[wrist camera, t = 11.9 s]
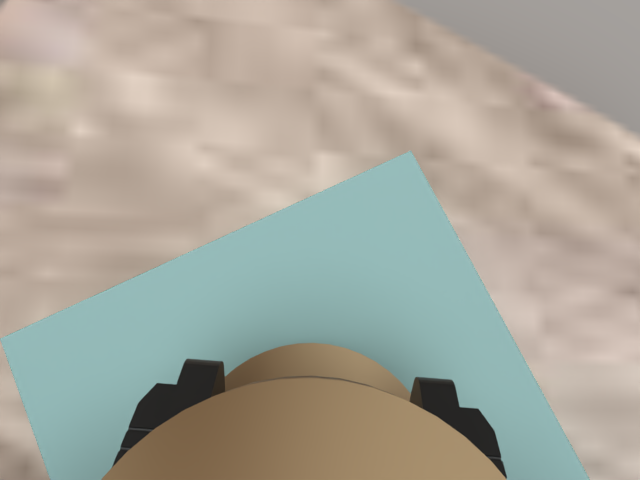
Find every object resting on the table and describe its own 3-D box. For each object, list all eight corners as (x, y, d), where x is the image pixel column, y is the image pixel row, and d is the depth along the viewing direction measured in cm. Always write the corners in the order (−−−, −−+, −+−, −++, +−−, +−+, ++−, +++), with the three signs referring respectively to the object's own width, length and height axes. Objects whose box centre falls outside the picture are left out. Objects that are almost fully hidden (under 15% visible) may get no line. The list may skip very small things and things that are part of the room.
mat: (407, 159, 19) (411, 150, 18) (626, 565, 16) (642, 576, 15) (14, 339, 17) (0, 338, 17) (186, 816, 15) (179, 842, 14)
